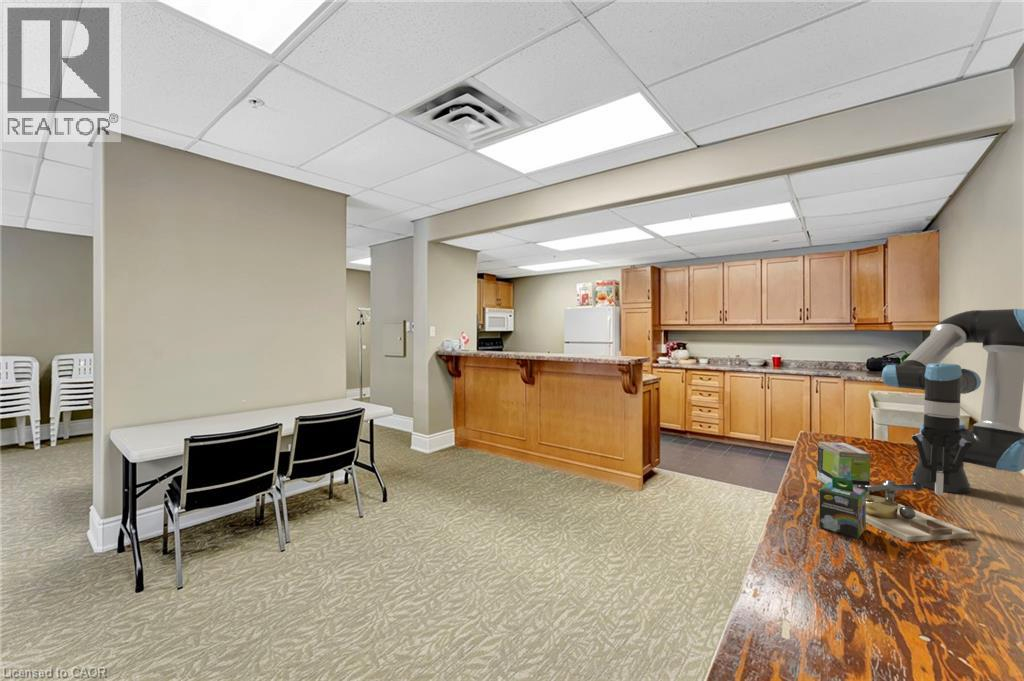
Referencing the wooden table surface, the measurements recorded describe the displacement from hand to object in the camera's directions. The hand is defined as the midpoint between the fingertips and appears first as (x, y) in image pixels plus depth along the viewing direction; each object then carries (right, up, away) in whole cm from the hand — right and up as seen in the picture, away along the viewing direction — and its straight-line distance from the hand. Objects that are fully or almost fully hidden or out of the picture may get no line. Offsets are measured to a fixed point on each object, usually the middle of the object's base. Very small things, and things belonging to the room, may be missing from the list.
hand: (938, 493), depth 127 cm
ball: (-13, -6, -3) cm, 14 cm away
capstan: (-13, -6, +2) cm, 15 cm away
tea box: (-8, -7, +27) cm, 29 cm away
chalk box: (-34, -8, -6) cm, 35 cm away
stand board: (-13, -8, -3) cm, 16 cm away
